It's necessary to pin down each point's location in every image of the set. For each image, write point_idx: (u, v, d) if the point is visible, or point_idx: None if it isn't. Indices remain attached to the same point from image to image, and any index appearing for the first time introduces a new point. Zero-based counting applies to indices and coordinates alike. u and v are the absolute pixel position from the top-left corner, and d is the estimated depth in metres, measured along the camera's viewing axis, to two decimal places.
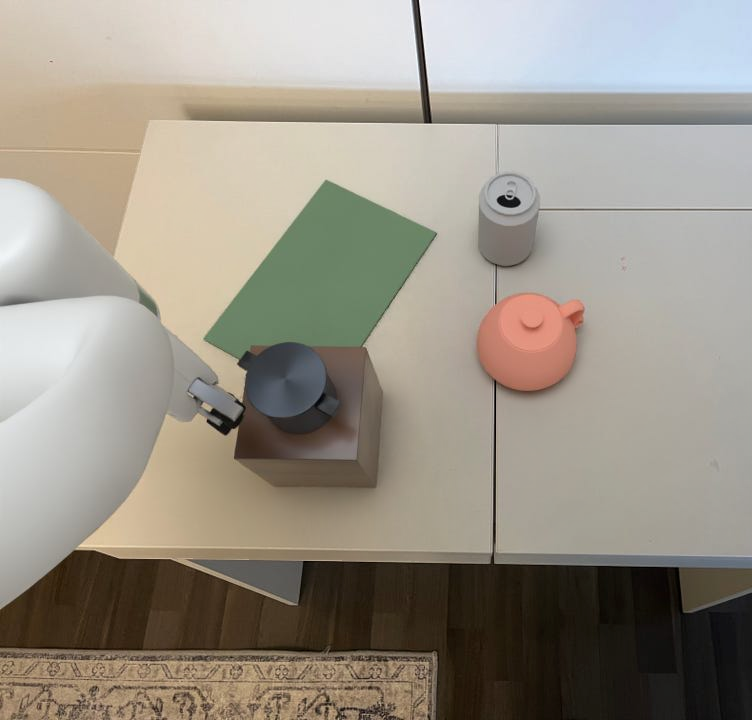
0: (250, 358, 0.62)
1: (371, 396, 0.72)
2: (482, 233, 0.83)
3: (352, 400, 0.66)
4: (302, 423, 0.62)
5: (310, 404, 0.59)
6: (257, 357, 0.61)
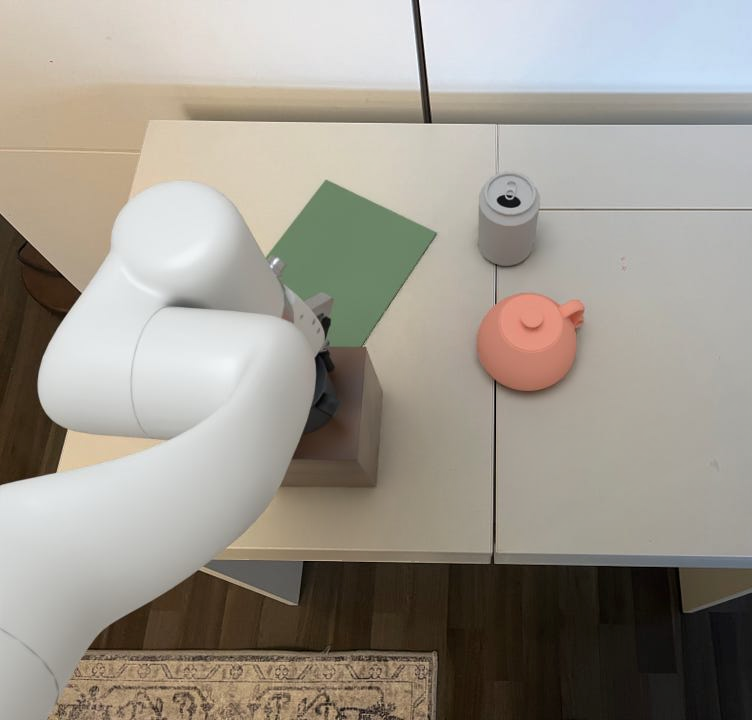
0: None
1: (371, 396, 0.72)
2: (482, 233, 0.83)
3: (352, 400, 0.66)
4: None
5: None
6: None
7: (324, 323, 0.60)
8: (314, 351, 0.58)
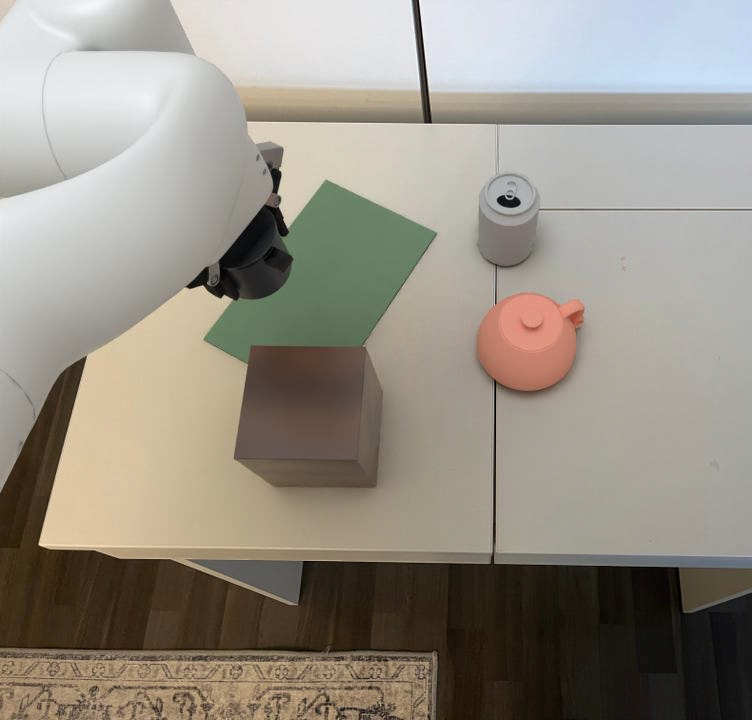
0: None
1: (371, 396, 0.72)
2: (482, 233, 0.83)
3: (352, 400, 0.66)
4: (253, 281, 0.60)
5: (259, 255, 0.57)
6: None
7: (274, 174, 0.58)
8: (261, 196, 0.56)
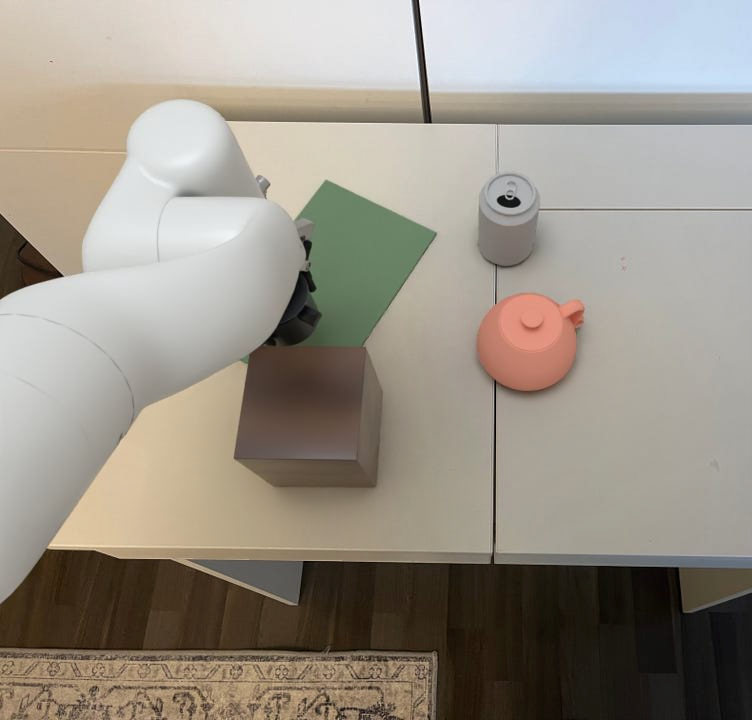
0: None
1: (371, 396, 0.72)
2: (482, 233, 0.83)
3: (352, 400, 0.66)
4: (288, 333, 0.71)
5: (294, 314, 0.69)
6: None
7: (306, 245, 0.70)
8: None
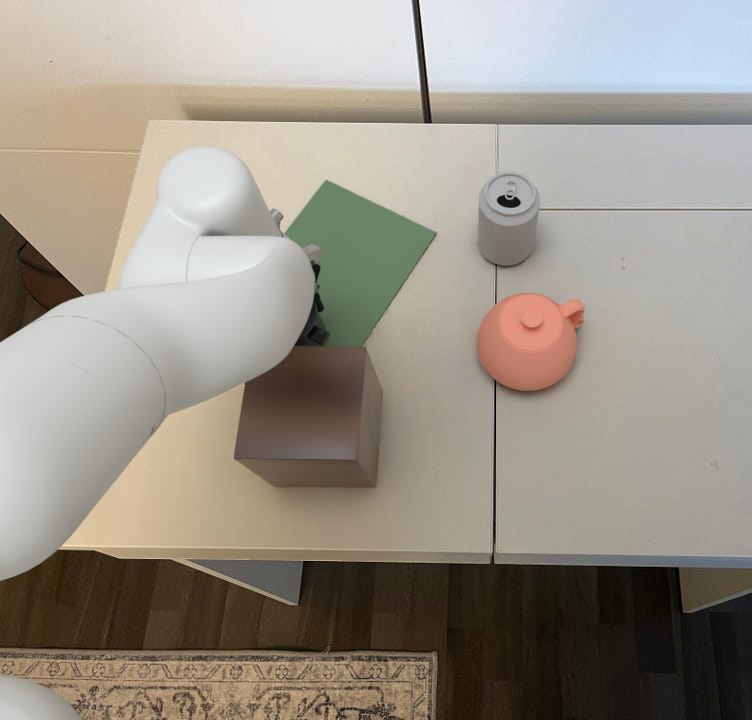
0: None
1: (371, 396, 0.72)
2: (482, 233, 0.83)
3: (352, 400, 0.66)
4: None
5: (304, 334, 0.73)
6: None
7: (315, 269, 0.74)
8: None
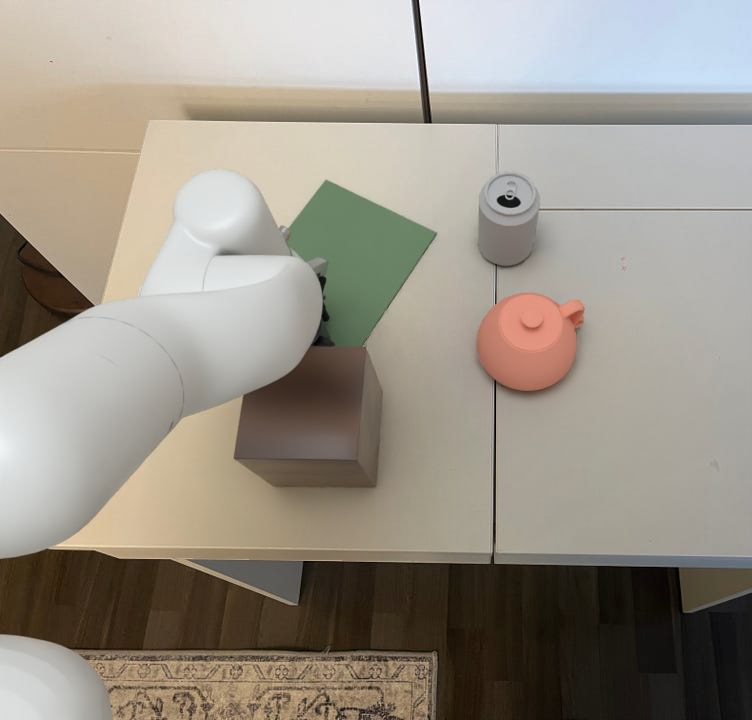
0: None
1: (371, 396, 0.72)
2: (482, 233, 0.83)
3: (352, 400, 0.66)
4: None
5: None
6: None
7: (321, 281, 0.77)
8: None
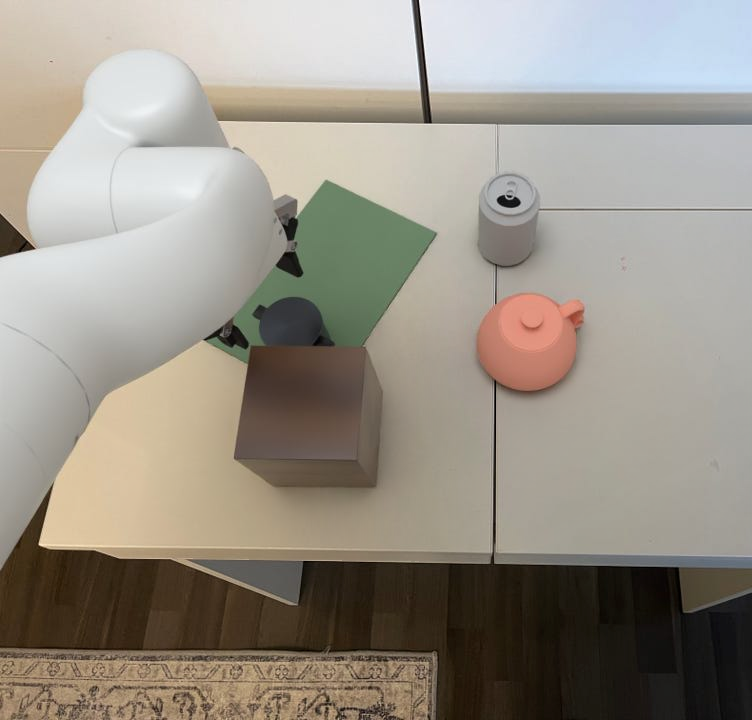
0: (262, 309, 0.79)
1: (371, 396, 0.72)
2: (482, 233, 0.83)
3: (352, 400, 0.66)
4: None
5: (310, 343, 0.76)
6: (268, 308, 0.78)
7: (291, 223, 0.65)
8: (277, 253, 0.63)
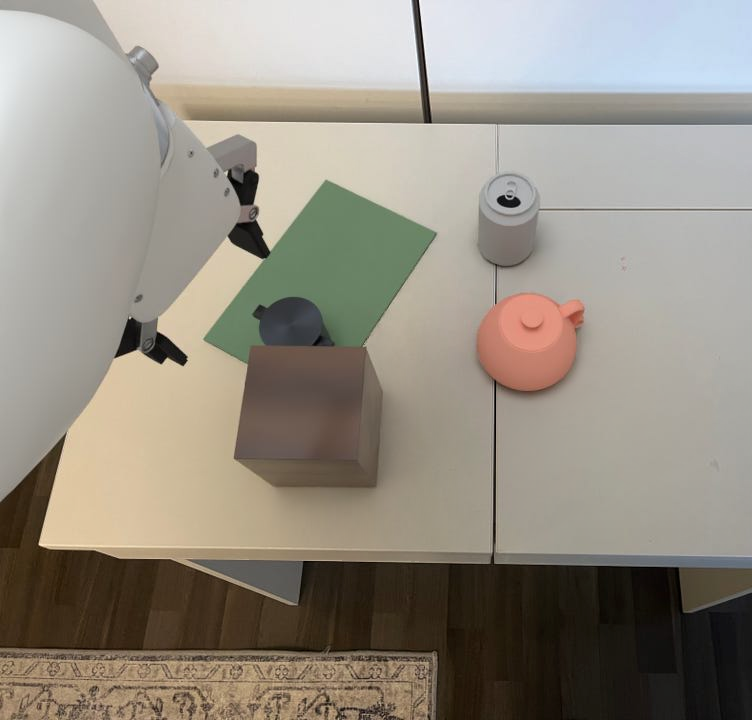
0: (262, 309, 0.79)
1: (371, 396, 0.72)
2: (482, 233, 0.83)
3: (352, 400, 0.66)
4: None
5: (310, 343, 0.76)
6: (268, 308, 0.78)
7: (247, 179, 0.43)
8: (223, 225, 0.41)
